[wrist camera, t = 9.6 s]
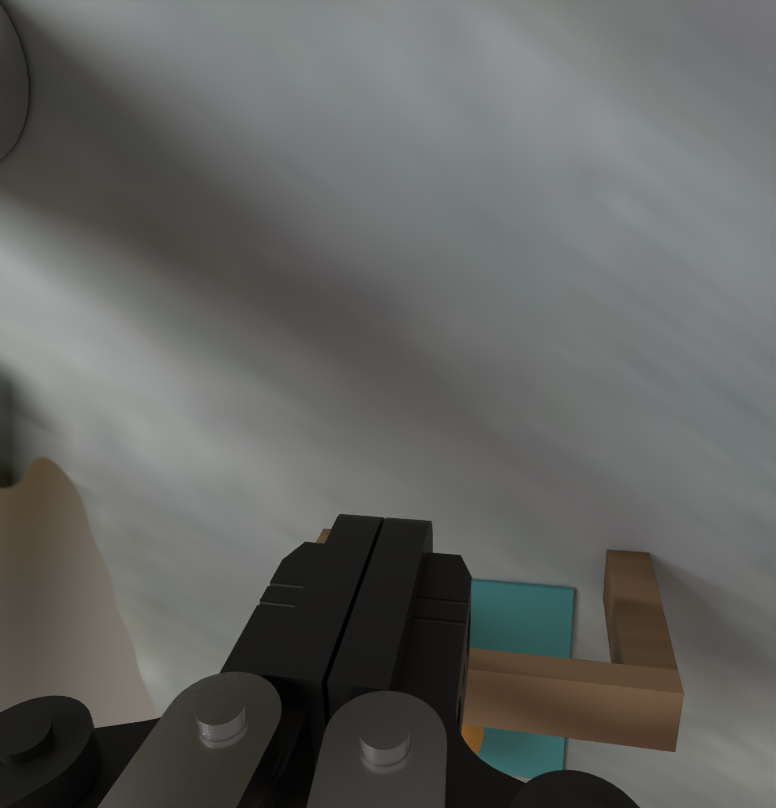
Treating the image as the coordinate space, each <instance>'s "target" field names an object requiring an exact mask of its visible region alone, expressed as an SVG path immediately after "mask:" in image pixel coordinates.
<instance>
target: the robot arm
mask: <svg viewBox="0 0 776 808" xmlns="http://www.w3.org/2000/svg"><path fill="white" fill-rule="evenodd" d="M28 94H29V82H28V75H27V68H26V61H25V57H24V54H23V51H22V47H21V44H20V41H19V38H18V35H17V33H16V31H15V29H14V27H13V25H12V23H11V21H10V19H9V17H8V15H7V13H6V11H5V10H4V9H3V7H2V6H1V4H0V159H1V158H3V157H4V156H5V155H6V154H7V153H8V152H9V150H10V149H11V148H12V147H13V145H14V144H15V143H16V141H17V139H18V137H19V135H20V133H21V131H22V128H23V126H24V122H25V118H26V113H27V109H28ZM471 585H472V577H471V575H470V573H469V571H468V569H467V567H466V565H465V563H464V561H463V559H462V557H461V555H452V554H441V553H433V530H432V522H431V521H425V520H412V519H400V518H386V519H385V518H383V517H372V516H359V515H346V514H340V515H339V516H338V517H337V519H336V521H335V523H334V525H333V527H332V529H331V531H330V533H329V535H328V537H327V540H326V542H325V544H324V543H312V542H304V543H303V544H302V545H301V546H299V547H298V548H297V549H295V550H294V551H293V552H292V553H290V554H289V555H288V556H287V557H285V558H284V559H283V560H282V561H281V563H280V565H279V567H278V569H277V570H276V572H275V574H274V576H273V578H272V579H271V581H270V586H268V587H267V588H266V590H265V592H264V594H263V596H262V598H261V599H260V604H259V605H257V607H256V608H255V610H254V612H253V614H252V616H251V617H250V619H249V621H248V623H247V625H246V626H245V628H244V630H243V632H242V634H241V635H240V637H239V639H238V641H237V643H236V644H235V646H234V648H233V650H232V652H231V653H230V655H229V657H228V659H227V661H226V662H225V664H224V666H223V668H222V670H221V672H220V673H219V674H216V675H212V676H209V677H207V678H204V679H202V680H200V681H198V682H196V683H194V684H192V685H191V686H189V687H188V688H186V689H185V690H184V691H182V692H181V693H180V694H179V695H178V696H177V697H176V698H175V699H174V700H173V702H172V703H171V704H170V705H169V707H168V708H167V710H166V711H165V712H164V714H163V715H162V717H160V718H157V719H152V720H147V721H141V722H134V723H128V724H121V725H114V726H107V727H100V728H94V724H93V721H92V717H91V714H90V712H89V710H88V709H87V707H86V706H85V705H84V704H82V703H81V702H80V701H78V700H76V699H73V698H71V697H65V696H45V697H39V698H35V699H31V700H28V701H25V702H22V703H19V704H17V705H15V706H13V707H11V708H9V709H6V710H4V711H2V712H0V808H639V806H638V805H637V804H636V803H635V802H634V801H633V800H632V799H631V798H630V797H629V796H628V795H626V794H625V793H624V792H623V791H622V790H620V789H619V788H617V787H616V786H615V785H613V784H611V783H610V782H608V781H606V780H604V779H602V778H600V777H597V776H595V775H592V774H589V773H585V772H581V771H574V770H555V771H551V772H546V773H543V774H541V775H538V776H536V777H534V778H533V779H531V780H530V781H528V782H527V783H524V782H522V781H520V780H518V779H516V778H513V777H511V776H509V775H507V774H505V773H503V772H501V771H499V770H497V769H495V768H493V767H492V766H490V765H489V764H487V763H486V762H484V761H483V760H482V759H480V758H479V757H478V756H477V755H476V754H475V753H474V752H473V751H472V750H471V748H470V747H469V746H468V744H467V743H466V742H465V740H464V738H463V736H462V735H461V732H462V723H463V713H464V703H465V695H466V684H467V676H468V667H469V657H470V628H471Z"/></svg>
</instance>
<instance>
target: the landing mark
mask: <svg viewBox="0 0 776 808" xmlns="http://www.w3.org/2000/svg"><path fill="white" fill-rule="evenodd" d="M573 599H574V588H570V587H558V586H546V585H535V584H523V583H511V582H500V581H488V580H477V579H472V585H471V628H470V648H475V649H484V650H494V651H503V652H512V653H522V654H531V655H540V656H549V657H559V658H568V659H570V646H571V630H572V614H573ZM564 740H565V738H564V737H557V736H549V735H542V734H534V733H526V732H519V731H511V730H504V729H496V728H488V727H484V734H483V740H482V744H481V747H480V750H479V752H478V754H477V756H478V757H479V758H480V759H482V760H483V761H484V762H486V763H487V764H489V765H490V766H492V767H493V768H495V769H497V770H499V771H501V772H503V773H505V774H508V775H515V776H522V777H529V778H534V777H536V776H538V775H541V774H543V773H546V772H551V771H555V770H563V756H564Z"/></svg>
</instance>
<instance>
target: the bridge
mask: <svg viewBox="0 0 776 808" xmlns="http://www.w3.org/2000/svg"><path fill="white" fill-rule="evenodd" d="M330 531H331V529H323V531H322V532H321V534H320V536H319V538H318V540H317V542H316V543H324V544H325V542H326V540H327V537H328V535H329V533H330ZM603 602H604V609H605V617H606V625H607V633H608V641H609V649H610V657H611V663H605V662H596V661H587V660H577V659H568V658H559V657H549V656H540V655H531V654H522V653H512V652H503V651H494V650H484V649H475V648H470V657H469V667H468V676H467V684H466V695H465V703H464V713H463V723H462V724H466V725H473V726H481V727H488V728H496V729H504V730H511V731H519V732H526V733H534V734H542V735H549V736H557V737H564V738H572V739H580V740H587V741H595V742H602V743H610V744H618V745H625V746H633V747H640V748H648V749H656V750H663V751H671V752H675V750H676V743H677V736H678V729H679V723H680V716H681V709H682V702H683V696H684V693H683V689H682V684H681V680H680V676H679V672H678V668H677V664H676V660H675V656H674V652H673V648H672V644H671V640H670V636H669V632H668V628H667V624H666V620H665V616H664V612H663V608H662V603H661V599H660V595H659V591H658V587H657V583H656V579H655V575H654V571H653V567H652V563H651V559H650V555H649V553H644V552H630V551H617V550H607V558H606V570H605V581H604V593H603Z"/></svg>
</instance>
